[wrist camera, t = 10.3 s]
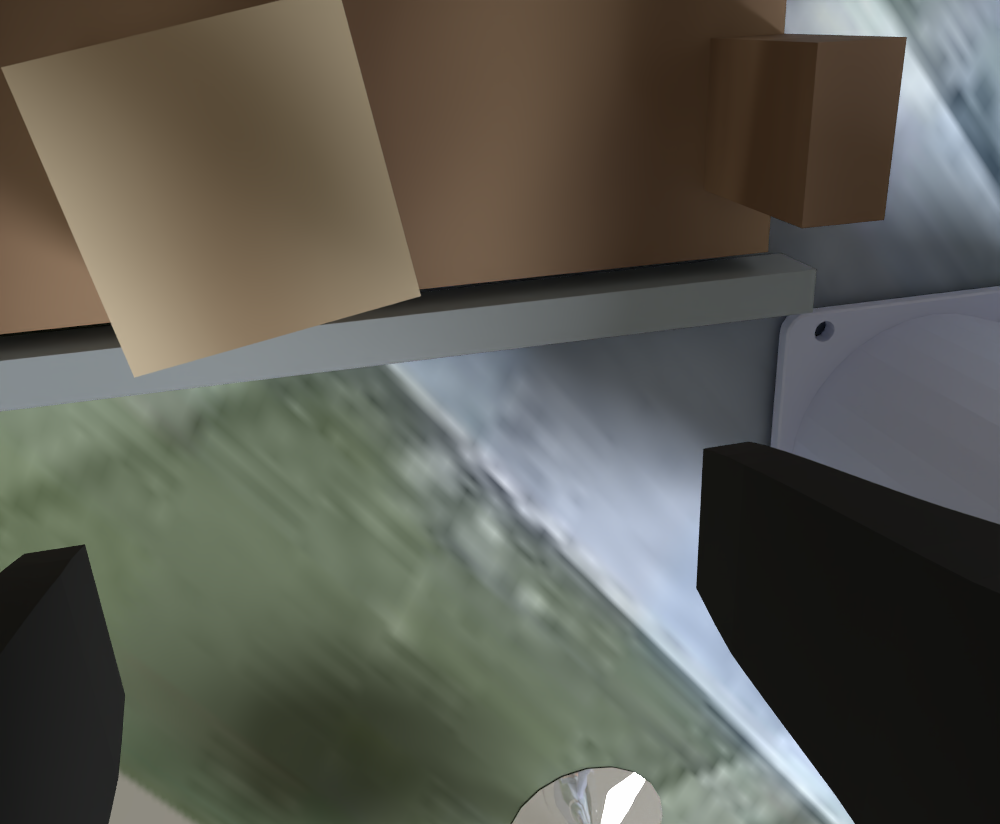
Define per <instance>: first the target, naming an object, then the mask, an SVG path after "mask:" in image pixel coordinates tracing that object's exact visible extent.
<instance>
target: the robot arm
mask: <svg viewBox="0 0 1000 824" xmlns="http://www.w3.org/2000/svg"><path fill="white" fill-rule="evenodd" d="M824 321H825V323H826V326H825V329H824V331H823V332H822V333H821V334H820V335H819V336H816V337H815V330H816V327H817V326H818V325H819V324H820V323H822V322H824ZM696 588H697V590H698V592H699V594H700V596H701V598H702V600H703V602H704V604H705V606H706V608H707V610H708V612H709V614H710V616H711V618H712V620H713V621H714V623H715V625H716V627H717V629H718V631H719V632H720V634H721V636H722V638H723V640H724V641H725V643H726V645H727V647H728V649H729V650H730V652H731V654H732V655H733V657H734V658H735V659H736V661H737V662H738V664H739V665H740V667H741V668H742V669H743V671H744V672H745V674H746V675H747V676H748V678H749V679H750V680H751V682H752V683H753V685H754V686H755V687H756V689H757V690H758V691H759V693H760V694H761V696H762V697H763V698H764V700H765V701H766V702H767V704H768V705H769V706H770V708H771V709H772V710H773V712H774V713H775V715H776V716H777V717H778V719H779V720H780V721H781V723H782V724H783V725H784V727H785V728H786V729H787V731H788V732H789V733H790V735H791V736H792V737H793V739H794V740H795V741H796V743H797V744H798V745H799V747H800V748H801V749H802V751H803V752H804V754H805V755H806V756H807V758H808V759H809V760H810V762H811V763H812V764H813V766H814V767H815V768H816V770H817V771H818V772H819V774H820V775H821V776H822V778H823V779H824V780H825V782H826V783H827V784H828V786H829V787H830V788H831V790H832V791H833V793H834V794H835V795H836V797H837V798H838V799H839V801H840V802H841V804H842V805H843V807H844V808H845V810H846V811H847V813H848V814H849V816H850V817H851V819H852V820H853V822H854V823H855V824H1000V286H994V287H986V288H978V289H970V290H961V291H953V292H945V293H937V294H928V295H920V296H912V297H904V298H895V299H887V300H879V301H870V302H862V303H854V304H846V305H837V306H829V307H821V308H813V312H812V313H803V314H795V315H789V316H788V317H786V319H785V320H784V322H783V323H782V326H781V329H780V336H779V348H778V361H777V373H776V385H775V397H774V410H773V422H772V434H771V446H770V447H769V446H766V445H762V444H757V443H753V442H744V443H737V444H731V445H725V446H718V447H712V448H705V449H703V468H702V487H701V507H700V527H699V546H698V566H697V586H696ZM124 701H125V693H124V689H123V686H122V682H121V678H120V674H119V671H118V667H117V663H116V659H115V656H114V652H113V648H112V644H111V641H110V637H109V633H108V629H107V626H106V622H105V618H104V614H103V611H102V607H101V603H100V599H99V596H98V592H97V588H96V584H95V581H94V577H93V573H92V569H91V566H90V562H89V558H88V554H87V551H86V547H85V545H79V546H72V547H66V548H59V549H53V550H46V551H40V552H33V553H27V554H24V555H22V556H21V557H20V558H18V559H17V560H16V561H14V562H13V563H12V564H10V565H9V566H8V567H7V568H5V569H4V570H3V571H2V572H1V573H0V824H108V823H109V819H110V814H111V810H112V805H113V800H114V796H115V791H116V786H117V781H118V775H119V764H120V754H121V743H122V730H123V716H124Z"/></svg>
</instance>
